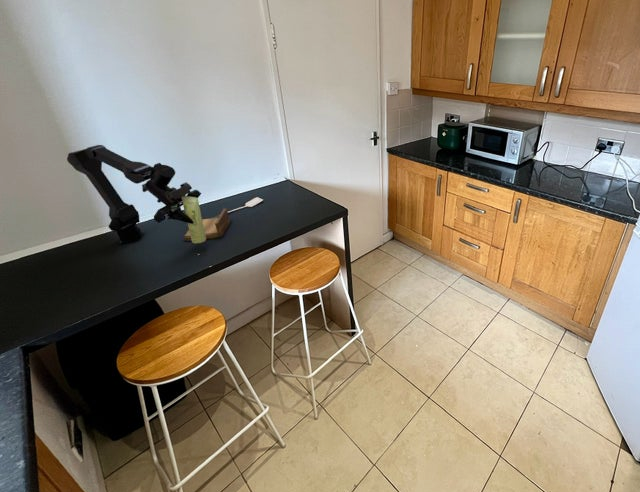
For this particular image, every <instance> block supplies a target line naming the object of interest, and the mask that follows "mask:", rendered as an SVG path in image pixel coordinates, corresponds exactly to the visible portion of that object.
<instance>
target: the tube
mask: <svg viewBox="0 0 640 492" xmlns="http://www.w3.org/2000/svg"><path fill="white" fill-rule="evenodd" d="M182 202H183V206H182V207H183V210H184V214H186V215H187V216H188V217H189V218H190V219H191V220H192V221H193V222H194V223H193V224H190V223H187V226H188V230H189V232H190V236H191V240H190V241H191V242H192V243H193V244H202V243H204V242H206V241H207V239H206V236H205V231H204V226H203V222H202V219H203V216H202V217H201V215H202V212H201V207H200V204H199V203H200V201H199V197H198V198H195V197H189V196H187V195H186V196H184V197H182Z"/></svg>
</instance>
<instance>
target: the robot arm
mask: <svg viewBox="0 0 640 492" xmlns="http://www.w3.org/2000/svg"><path fill="white" fill-rule="evenodd" d="M66 160H67V163H69V165H70V166H72V168H74V170H75V171H77V172H79V173H81V174H83V175H85V176H86V177H87V179H88V180H89V181H90V183H91V184H92V186H93V187H94V188H95V190H96V191H97V193H98V194H99V195H100V197H101V198H102V199H103V201H104V203H105V204H106V206H108V217H109V218H110V222H109V224H108V225H107V227H108V228H109V230H110V231H111V232H116V233H117V236H118V238H119V240H120V241H119V244H120V245H121V244H126V243H133V242H138V241H140V238H141V237H142V235H143V231H142V230H141V228H140V226H139V225H138V223H140V221H141V220H140V212H139V211H138V210H137V209H136V207H135V205H134V204H132V203H130V204H128V203H126V202H125V201H124V200H123V199H122V197H121V196H120V194H119V193H118V191H117V190H116V189H115V187H114V186H113V184H112V183H111V181H110V180H109V179H108V177H107V175H106V174H105V172H104V171H103V170H102V169H103V163H104V164H105V165H108V166H110V167H111V168H113V169H116V170H117V171H119V172H121V173H123V176H124V178H125V179H126V180H129V181H130V182H131V183H133V184H136V185H138V184H140V183H143V182H144V183H143V184H141V187H142V188H141V189H142V190H141V191H142V193H146V192H148V193H150V194H151V195H152V196H154V197H155V198H156V199H157V200H156V202H157V203H158V204H160V203H162V204H164V206H163V207H161V208H159V209H157V210H156V212H155V214H154V215H153V219H154V221H155V222H157V223H158V224H160V223H162V222H163V221H165V220H166V216H167V217H168V218H167V220H175V221H179V222H182V223H183V222H184V223H187V224H188V223H190V224H193V223H194V222H193V221H192V220H191V219H190V218H189V217H188V216H187V215H186V214H185V212H183V210H182V207H184V206H183V202H182V197H184V196H189V197H195V198H198V199H199V197H200V196H201V195H202V192H201V191H200V190H198V189H193V187H192V186H191V184H190V183H188V182H186V181H185V182H183V183H181V184H180V185H179V186H180V187H179V188H176V187H173V186H172V187H170V186H169V184H170V183H171V181H172V180H173V179H174V177H175V175H176V170H175V169H174V168H173V167H172V166H169V165H167V164H162V163H161V162H157V163H154V165H153V166H151V165H150V164H147V163H145V162H143V161H133V160H130V159H128V158H126V157H125V156H122V155H121V154H118V153H117V152H115V151H112V150H110V149H109V148H107V147H106V146H105V145H103V144H96V145H91V146H88V147H86V148H84V149H83V148H82V149H79V150H76V151H75V150H74V151H71V152H69V153H67V157H66ZM192 189H193V190H192ZM201 217H202V218H203V215H202V214H201Z"/></svg>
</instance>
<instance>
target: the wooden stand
mask: <svg viewBox="0 0 640 492" xmlns="http://www.w3.org/2000/svg"><path fill="white" fill-rule="evenodd" d="M219 215H220V216H219V217H218V218H213V217H211V218H212V219H211V218H204V219H203V218H202V222H203V226H204V231H205V236H206V240H208V239H217V238H223V236H224V235H225V232H226V230H227V228H228V226H229V225H230V224H231V223H230V222H231V219H230V216H229V211H228V209H227V208H225V207H224V208H223V209H222V211H221V212H220V214H219ZM184 239H185V242H189V241H192V240H191V236H190V232H189V229H188V230H187V231H186V233H185V234H184Z"/></svg>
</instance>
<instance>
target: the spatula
mask: <svg viewBox="0 0 640 492" xmlns="http://www.w3.org/2000/svg"><path fill="white" fill-rule="evenodd" d="M263 201H264V199H262V198H260V197H258V196H257V197H254V198H252V199H251V200H249V201H248V202H246V203H245V204H244V206H240V207H238V208H235V209H232V210H228V213H231V212H235V211H237V210H241V209H244V208H252V207H255V206H256V205H258V204H259V203H261V202H263ZM219 216H220V214H218V215H215V216H213V217H210V219H212V218H218V217H219Z"/></svg>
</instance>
